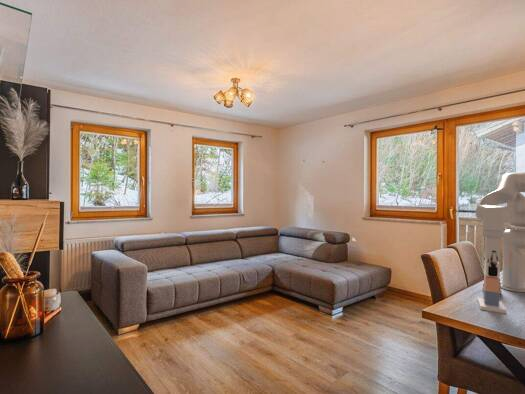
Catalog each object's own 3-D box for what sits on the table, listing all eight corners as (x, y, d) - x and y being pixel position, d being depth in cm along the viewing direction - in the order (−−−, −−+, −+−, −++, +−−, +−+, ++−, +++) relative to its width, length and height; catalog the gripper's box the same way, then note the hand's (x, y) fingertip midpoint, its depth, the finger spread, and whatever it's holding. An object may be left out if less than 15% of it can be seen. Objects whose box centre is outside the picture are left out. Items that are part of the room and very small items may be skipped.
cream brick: (484, 273, 141) (484, 260, 141) (497, 274, 139) (497, 261, 138) (485, 275, 137) (485, 262, 137) (499, 277, 134) (499, 263, 134)
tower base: (477, 300, 145) (477, 285, 145) (501, 304, 141) (501, 288, 141) (480, 309, 135) (480, 292, 135) (506, 313, 131) (506, 296, 130)
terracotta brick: (483, 287, 141) (484, 274, 141) (497, 289, 139) (497, 276, 139) (485, 290, 137) (485, 277, 137) (499, 292, 134) (499, 279, 134)
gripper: (480, 231, 146) (479, 269, 147) (485, 235, 132) (484, 277, 132) (499, 232, 143) (498, 271, 143) (507, 237, 128) (506, 280, 128)
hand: (491, 274), depth 138 cm, fingers closed on cream brick, 4 cm apart
